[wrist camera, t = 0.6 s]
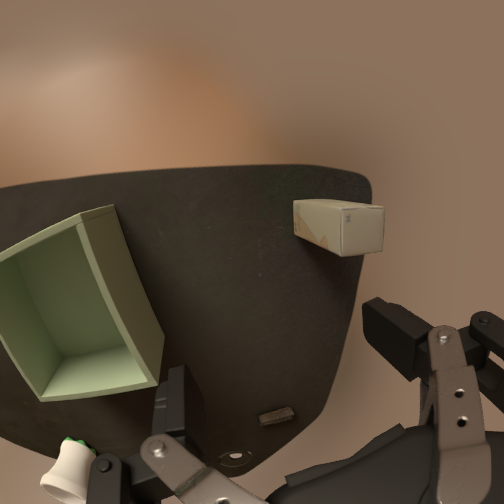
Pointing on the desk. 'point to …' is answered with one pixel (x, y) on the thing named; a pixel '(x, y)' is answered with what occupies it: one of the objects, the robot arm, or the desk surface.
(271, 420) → the block
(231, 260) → the desk surface
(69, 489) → the cup
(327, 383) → the desk surface
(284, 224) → the desk surface
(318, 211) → the box
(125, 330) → the bin
